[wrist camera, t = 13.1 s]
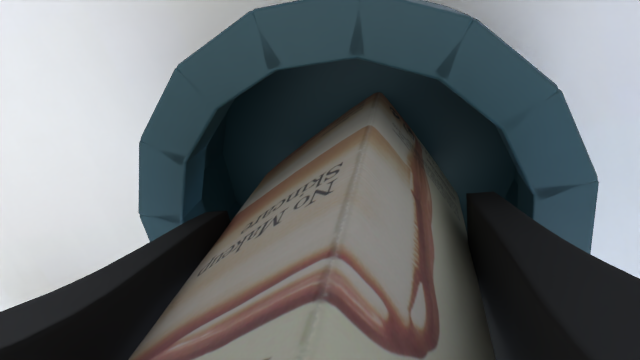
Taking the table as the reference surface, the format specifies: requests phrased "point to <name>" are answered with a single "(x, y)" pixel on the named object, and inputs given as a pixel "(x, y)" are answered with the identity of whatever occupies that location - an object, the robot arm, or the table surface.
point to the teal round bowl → (348, 91)
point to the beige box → (336, 260)
